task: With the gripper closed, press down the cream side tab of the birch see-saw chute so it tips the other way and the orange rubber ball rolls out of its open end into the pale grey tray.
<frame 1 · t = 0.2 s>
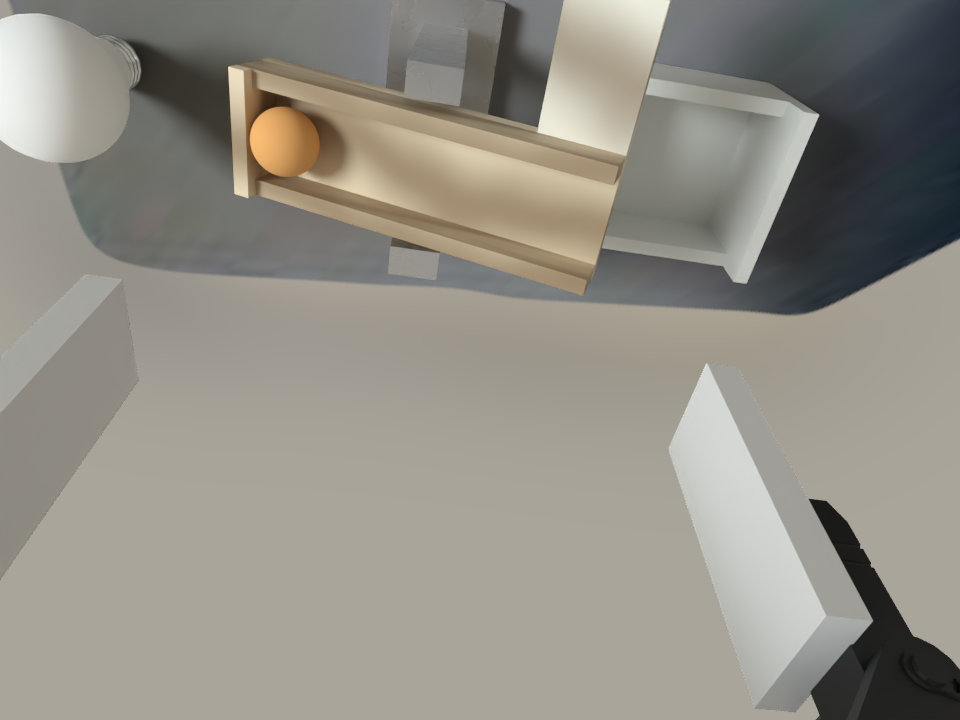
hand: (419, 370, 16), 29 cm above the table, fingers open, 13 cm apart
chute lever: (431, 91, 30), point 10 cm above the table, hinge at 20.0°, touching ball
light bulb: (123, 58, 39), on the table
ball: (285, 142, 32), point 9 cm above the table, tilted 23°, touching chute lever
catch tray: (669, 151, 41), on the table
stand: (436, 113, 40), on the table
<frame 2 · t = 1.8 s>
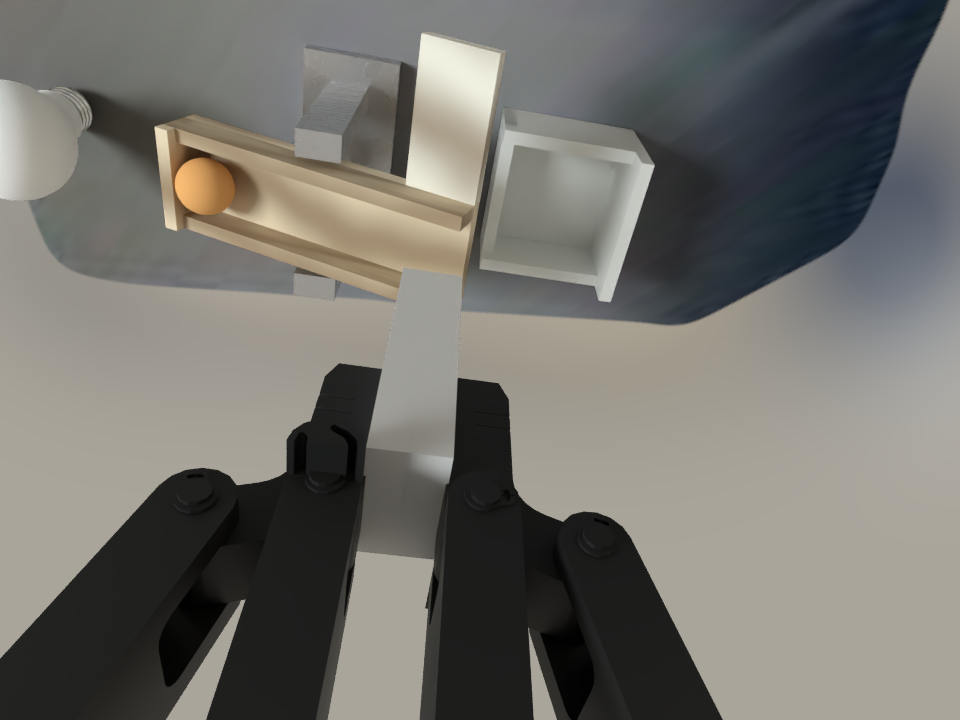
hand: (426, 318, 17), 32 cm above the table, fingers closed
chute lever: (320, 149, 36), point 10 cm above the table, hinge at 20.0°, touching ball
light bulb: (78, 104, 45), on the table
ball: (205, 186, 39), point 9 cm above the table, tilted 23°, touching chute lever
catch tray: (552, 186, 48), on the table
stand: (349, 152, 47), on the table
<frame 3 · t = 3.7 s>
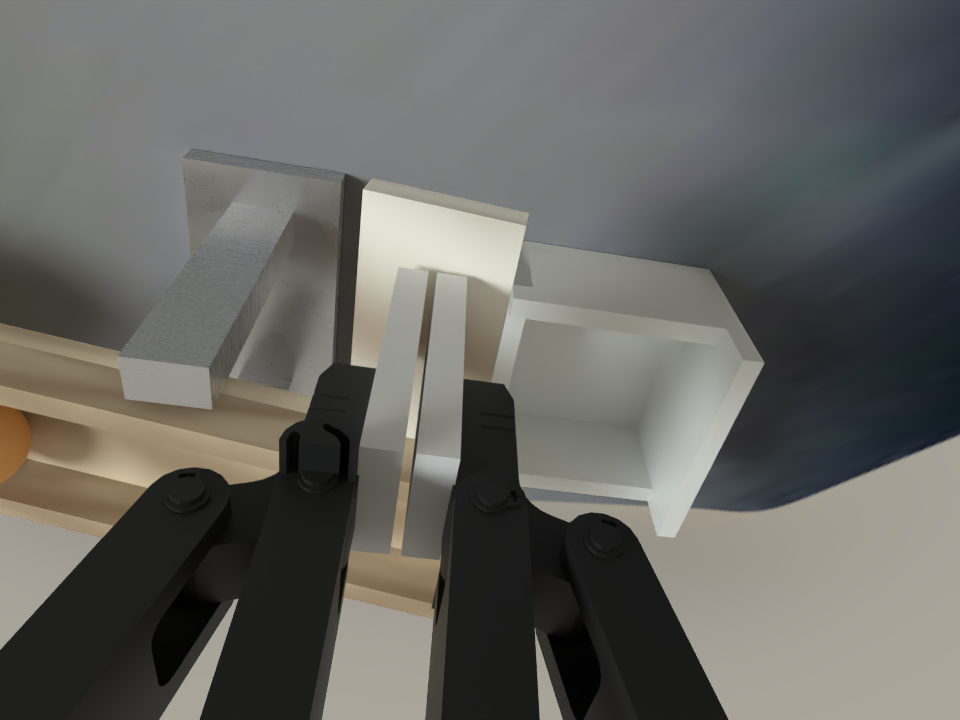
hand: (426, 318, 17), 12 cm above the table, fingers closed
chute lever: (181, 374, 20), point 10 cm above the table, hinge at 9.3°, touching ball, gripper
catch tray: (582, 344, 32), on the table
stand: (271, 300, 30), on the table
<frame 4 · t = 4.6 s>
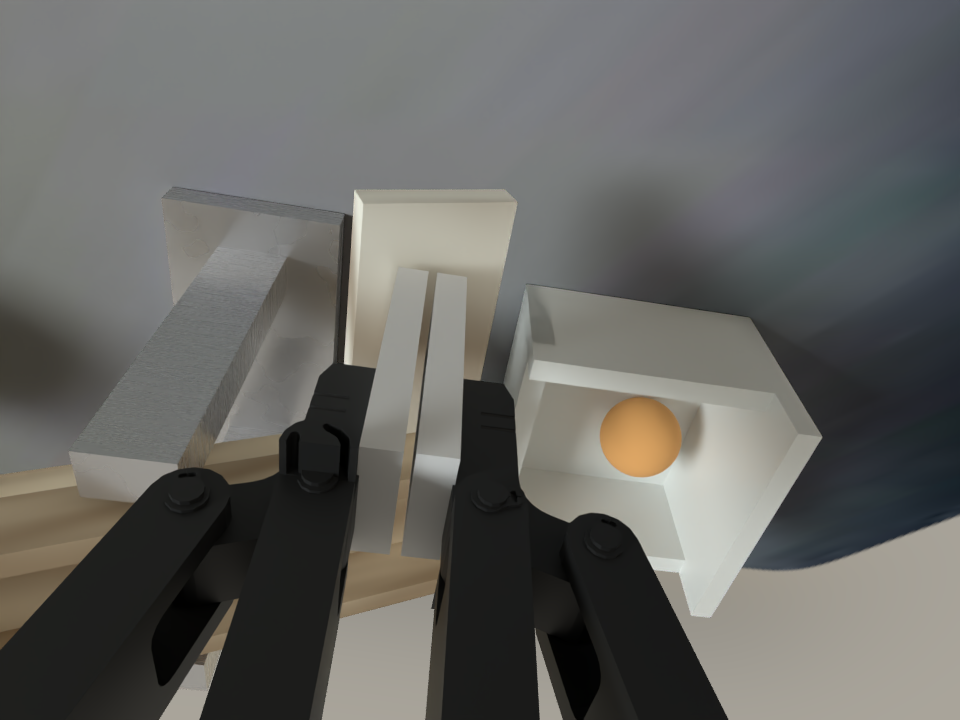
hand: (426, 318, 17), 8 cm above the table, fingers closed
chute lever: (156, 462, 17), point 10 cm above the table, hinge at -23.4°, touching gripper
ball: (640, 437, 27), point 2 cm above the table, tilted 125°, touching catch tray
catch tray: (606, 396, 29), on the table
stand: (263, 349, 28), on the table
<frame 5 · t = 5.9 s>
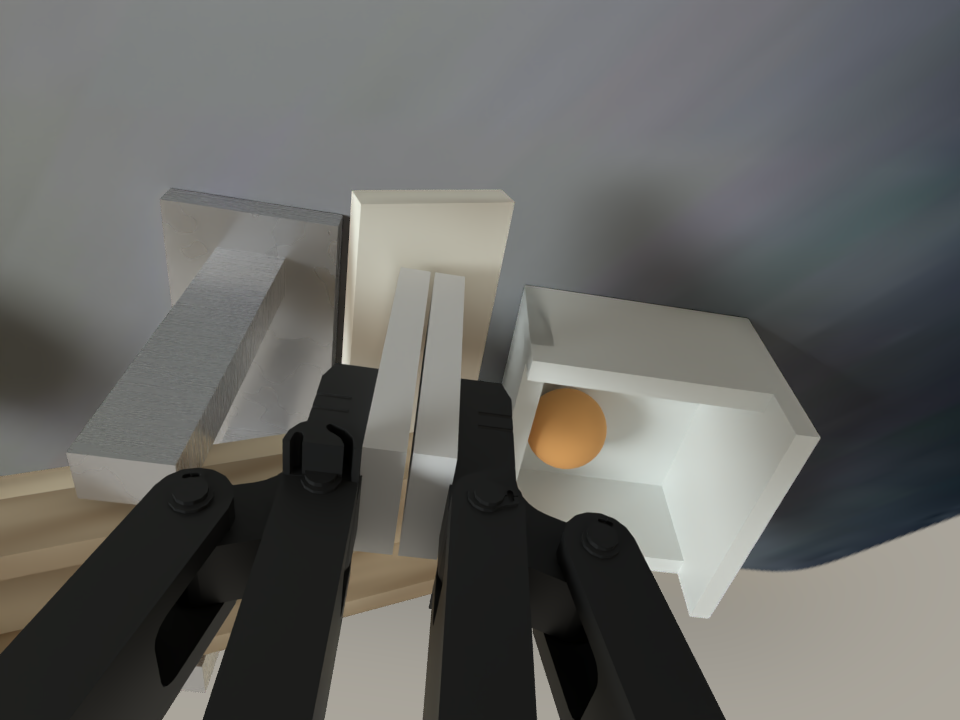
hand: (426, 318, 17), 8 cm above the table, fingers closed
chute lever: (154, 464, 17), point 10 cm above the table, hinge at -23.8°
ball: (565, 428, 27), point 2 cm above the table, tilted 128°, touching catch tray
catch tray: (604, 397, 29), on the table
stand: (261, 350, 28), on the table
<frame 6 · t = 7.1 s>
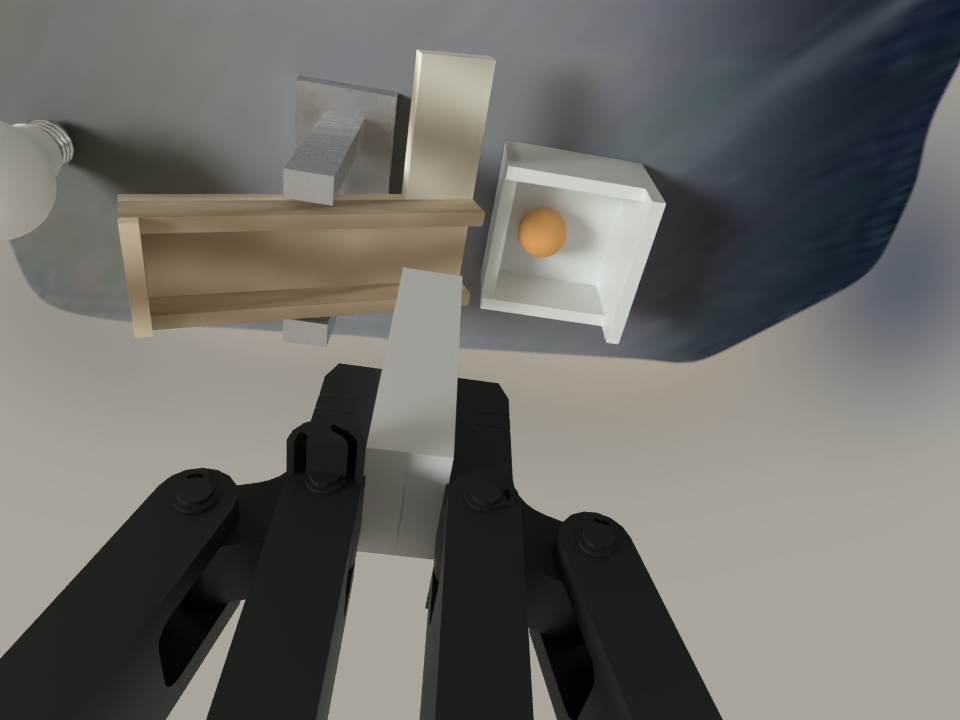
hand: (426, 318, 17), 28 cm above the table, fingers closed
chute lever: (315, 190, 34), point 10 cm above the table, hinge at -23.8°
light bulb: (59, 137, 43), on the table
ball: (542, 232, 44), point 2 cm above the table, tilted 154°, touching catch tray
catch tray: (557, 220, 46), on the table
stand: (343, 186, 45), on the table
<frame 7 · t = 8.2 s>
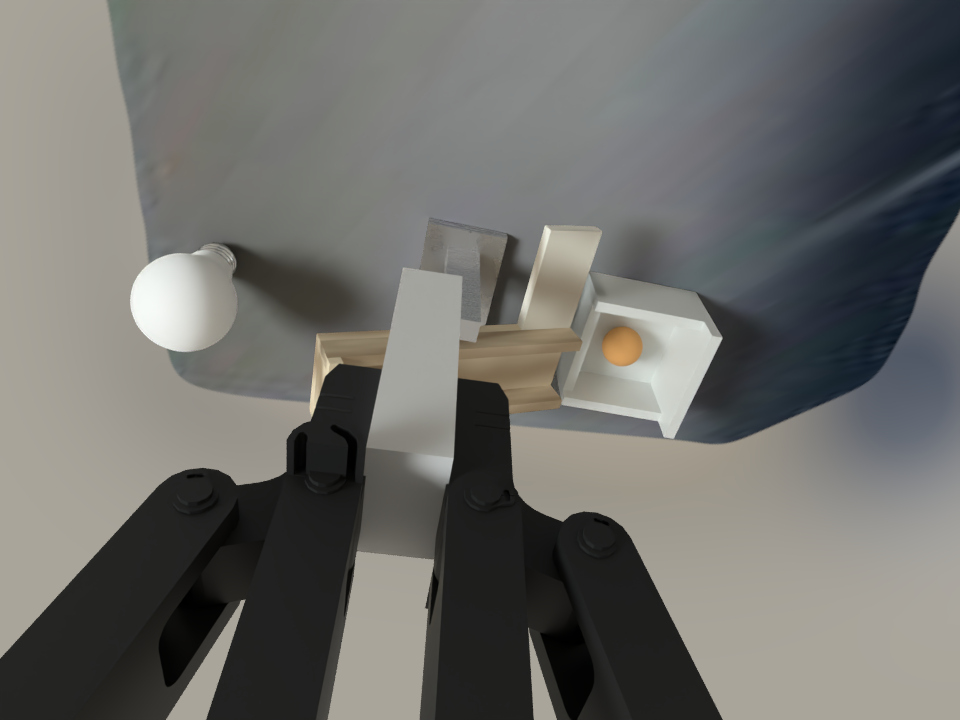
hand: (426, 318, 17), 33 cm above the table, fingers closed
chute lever: (460, 327, 44), point 10 cm above the table, hinge at -23.8°
light bulb: (222, 253, 52), on the table
ball: (622, 346, 54), point 2 cm above the table, tilted 179°, touching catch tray
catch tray: (623, 332, 56), on the table
stand: (452, 300, 54), on the table
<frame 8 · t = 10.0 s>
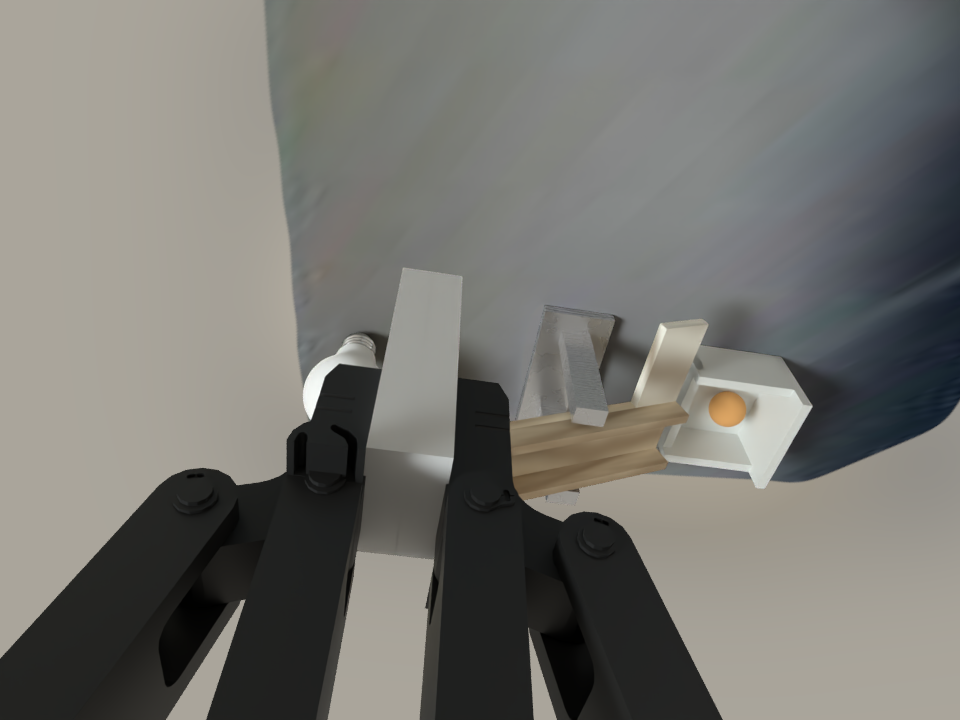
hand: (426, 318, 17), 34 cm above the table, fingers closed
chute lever: (587, 413, 50), point 10 cm above the table, hinge at -23.8°
light bulb: (361, 340, 59), on the table
ball: (727, 409, 60), point 2 cm above the table, tilted 141°, touching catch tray
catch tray: (713, 391, 62), on the table
stand: (561, 370, 61), on the table
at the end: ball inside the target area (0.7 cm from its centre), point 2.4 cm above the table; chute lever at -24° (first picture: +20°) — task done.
